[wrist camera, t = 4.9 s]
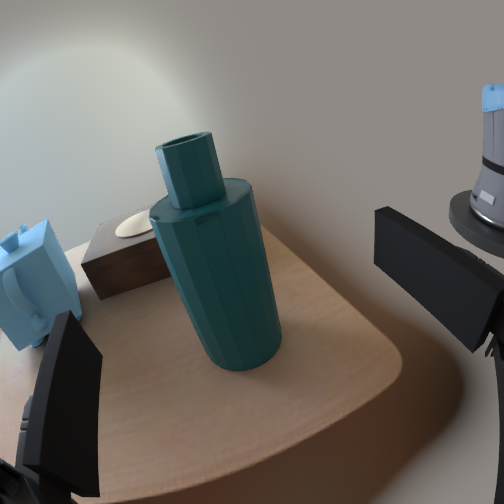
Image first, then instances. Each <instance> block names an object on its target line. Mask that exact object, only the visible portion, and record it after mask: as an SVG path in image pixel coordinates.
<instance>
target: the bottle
mask: <svg viewBox="0 0 504 504" xmlns="http://www.w3.org/2000/svg"><path fill="white" fill-rule="evenodd" d="M155 152H156V155H157V158H158V162H159V165H160V168H161V172H162V175H163V178H164V181H165V184H166V188H167V190H168V194H169V195H167V196H166V197H164V198H163V199H161V200H160V201H158V202H157V203H156V204H155V205H154V206H153V207H152V208H151V209H150V211H149V220H150V223H151V225H152V228H153V231H154V233H155V236H156V239H157V241H158V244H159V246H160V249H161V251H162V254H163V256H164V259H165V261H166V264H167V266H168V269H169V271H170V273H171V276H172V278H173V281H174V283H175V285H176V288H177V290H178V292H179V294H180V297H181V299H182V301H183V304H184V306H185V308H186V310H187V312H188V315H189V317H190V319H191V321H192V323H193V326H194V328H195V330H196V332H197V334H198V336H199V338H200V340H201V342H202V345H203V347H204V349H205V351H206V353H207V354H208V355H209V357H210V359H211V360H212V361H213V362H214V363H215V364H216V365H218V366H220V367H222V368H224V369H228V370H233V371H242V370H248V369H252V368H255V367H258V366H260V365H262V364H264V363H265V362H266V361H268V360H269V359H270V358H271V357H272V356H273V355H274V354H275V353H276V351H277V350H278V348H279V346H280V343H281V327H280V322H279V317H278V312H277V307H276V302H275V297H274V292H273V287H272V282H271V277H270V272H269V267H268V262H267V257H266V253H265V248H264V243H263V238H262V233H261V228H260V224H259V219H258V214H257V210H256V205H255V200H254V195H253V191H252V186H251V185H250V184H249V183H248V182H247V181H246V180H243V179H237V178H225V179H224V178H222V174H221V170H220V166H219V162H218V158H217V154H216V150H215V146H214V142H213V138H212V133H211V132H201V133H196V134H192V135H188V136H184V137H181V138H178V139H175V140H172V141H169V142H166V143H164V144H162V145H160V146H158V147H156V149H155Z"/></svg>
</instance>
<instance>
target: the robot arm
mask: <svg viewBox="0 0 504 504" xmlns="http://www.w3.org/2000/svg"><path fill="white" fill-rule="evenodd" d="M482 112H483V160H482V168H481V171H480V174H479V176H478V178H477V181H476V183H475V186H474V188H473V190H472V193H471V196H470V203H469V209H470V211H471V213H472V214H473V215H474V216H475V217H476V218H477V219H478V220H479V221H480V222H482V223H483V224H485V225H486V226H488V227H490V228H492V229H494V230H497V231H499V232H502V233H504V84H487V85H485V86H484V88H483V90H482ZM374 243H375V244H374V264H375V265H376V266H378V267H379V268H380V269H381V270H382V271H383V272H385V273H386V274H387V275H388V276H389V277H391V278H392V279H393V280H394V281H396V283H398V284H399V285H400V286H401V287H402V288H403V289H404V290H406V291H407V292H408V293H409V294H410V295H411V296H412V297H413V298H415V299H416V300H417V301H418V302H419V303H420V304H421V305H422V306H424V308H426V309H427V310H428V311H429V312H430V313H431V314H432V315H433V316H434V317H435V318H437V319H438V320H439V321H440V322H441V323H442V324H443V325H444V326H445V327H446V328H447V329H448V330H449V331H450V332H451V333H452V334H453V335H454V336H455V337H456V338H457V339H458V340H459V341H461V342H462V343H463V344H464V345H465V346H466V347H467V348H468V349H469V350H470V351H471V352H472V353H473V352H474V351H476V350H477V349H478V348H479V347H480V346H481V345H483V344H484V342H485V340H486V338H487V336H488V334H489V332H491V333H492V334H494V336H493V338H492V340H491V342H490V344H489V346H488V348H487V350H486V351H485V357H487V356H488V354H489V352H490V351H491V349H492V347H493V351H492V353H491V357H492V356H494V360H495V367H496V376H497V385H498V398H499V419H500V444H499V464H498V476H497V485H496V492H495V499H494V504H504V275H503V274H502V273H500V272H499V271H497V270H496V269H495V268H493V267H492V266H490V265H489V264H486V263H485V261H483V260H482V259H480V258H479V259H478V257H477V256H476V255H474V254H473V253H471V252H470V251H468V250H465V249H463V248H460V247H457V246H454V245H453V244H451V243H449V242H448V241H446V240H445V239H443V238H442V237H440V236H438V235H437V234H435V233H434V232H432V231H430V230H429V229H427V228H425V227H424V226H422V225H420V224H419V223H417V222H415V221H413V220H412V219H410V218H408V217H406V216H405V215H403V214H401V213H399V212H397V211H396V210H394V209H392V208H390V207H388V206H387V207H383V208H380V209H377V210H375V242H374ZM102 359H103V356H102V354H101V353H100V352H99V350H98V349H97V348H96V346H95V345H94V343H93V342H92V341H91V339H90V338H89V336H88V335H87V334H86V332H85V331H84V329H83V328H82V326H81V325H80V323H79V322H78V320H77V319H76V317H75V316H74V314H73V313H72V311H71V310H69V311H66V312H63V313H60V314H57V315H56V317H55V320H54V323H53V326H52V329H51V332H50V335H49V338H48V341H47V345H46V348H45V351H44V354H43V358H42V361H41V365H40V369H39V373H38V376H37V380H36V384H35V389H34V393H33V395H30V397H29V399H28V401H27V403H26V405H25V407H24V411H23V416H22V420H23V421H22V422H21V427H20V429H21V431H20V433H19V440H18V447H17V454H16V464H15V467H13V466H11V465H10V464H8V463H7V462H5V461H4V460H2V459H1V458H0V504H78V503H77V502H76V501H75V500H74V499H72V498H71V492H72V493H74V494H77V495H79V496H81V497H100V490H99V473H98V412H99V393H100V380H101V369H102Z"/></svg>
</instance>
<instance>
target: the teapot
mask: <svg viewBox="0 0 504 504" xmlns="http://www.w3.org/2000/svg"><path fill="white" fill-rule="evenodd" d="M0 246H1V248H0V327H1V329H2V330H3V331H4V333H5V334H6V335H7V337H8V338H9V339H10V341H11V342H12V343H13V344H14V346H15V347H16V348H17V349H18V351H20V350H22V349H24V348H25V347H27V346H29V345H30V344H31V346H32V347H36V346H38V345H39V344H41V343H42V341H43V340H44V336H46V335H47V334H49V333H50V332H51V329H52V326H53V323H54V320H55V317H56V315H57V314H60V313H63V312H66V311H69V310H71V311H72V313H73V314H74V316H75V317H76V319H77V320H78V321H79V320H80V318H81V315H82V309H81V305H80V300H79V295H78V290H77V284H76V279H75V273H74V272H73V270H72V268H71V266H70V264H69V262H68V260H67V258H66V256H65V254H64V252H63V251H62V248H61V246H60V244H59V242H58V240H57V238H56V236H55V234H54V232H53V229H52V227H51V225H50V223H49V221H48V220H45V221H44V222H42V223H40V224H38V225H37V226H35V227H33V228H32V229H30V230H27V227H26V224H23V225H21V226H20V228H19V236H18V234H17V231H14V232H12V233H10V234H8V235H7V236H5V237H4V238H3V239H2V240H1V241H0Z"/></svg>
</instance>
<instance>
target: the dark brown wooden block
mask: <svg viewBox="0 0 504 504" xmlns="http://www.w3.org/2000/svg"><path fill="white" fill-rule="evenodd" d="M155 204H156V203H155ZM155 204H153V205H150V206H147V207H144V208H141V209H138V210H136V211H133V212H130V213H128V214H125V215H122V216H119V217H117V218H114V219H112V220H109V221H106V222H104V223H101V224H99V225H98V227H97V229H96V231H95V233H94V236H93V238H92V240H91V242H90V244H89V246H88V249H87V251H86V253H85V255H84V258H83V260H82V262H81V266H82V268H83V270H84V272H85V273H86V275H87V277H88V279H89V281H90V283H91V285H92V286H93V288H94V290H95V292H96V294H97V295H98V297H99V299H103V298H106V297H109V296H112V295H115V294H118V293H121V292H124V291H127V290H130V289H133V288H136V287H139V286H142V285H145V284H148V283H151V282H154V281H157V280H160V279H163V278H166V277H169V276H171V273H170V271H169V269H168V266H167V264H166V261H165V259H164V256H163V254H162V251H161V249H160V246H159V244H158V241H157V239H156V236H155V233H154V231H153V228H152V225H151V223H150V220H149V211H150V209H151V208H152V207H153V206H154V205H155Z"/></svg>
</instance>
